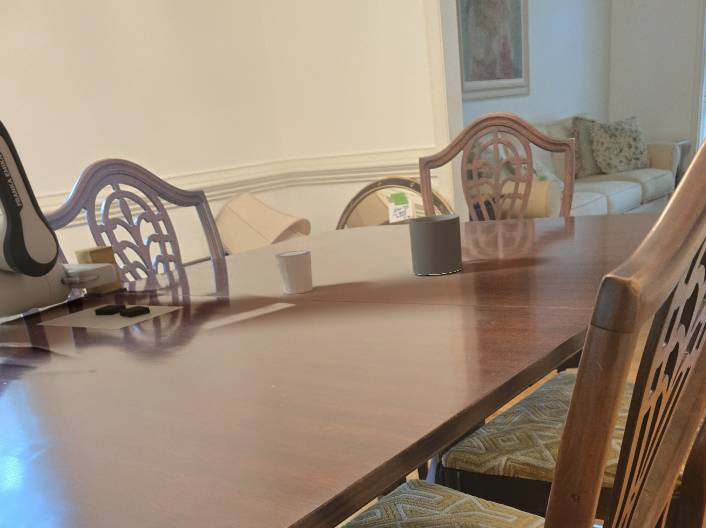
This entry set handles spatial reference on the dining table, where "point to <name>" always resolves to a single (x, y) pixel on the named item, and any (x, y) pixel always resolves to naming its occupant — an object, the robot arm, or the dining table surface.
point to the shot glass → (295, 271)
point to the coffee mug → (435, 244)
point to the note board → (106, 318)
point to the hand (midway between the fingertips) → (102, 267)
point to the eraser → (100, 257)
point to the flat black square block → (134, 311)
